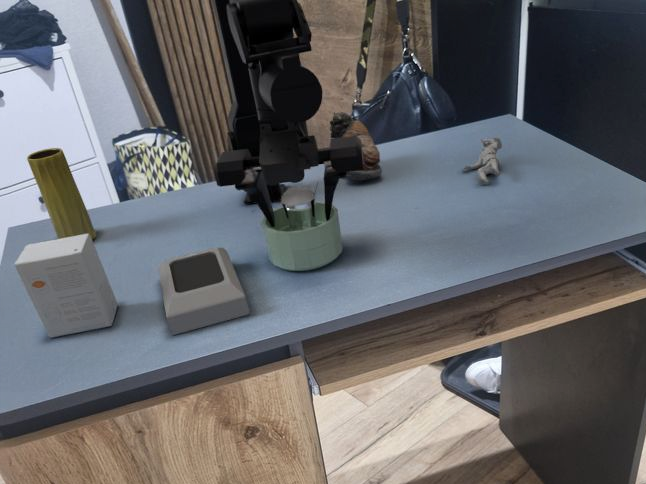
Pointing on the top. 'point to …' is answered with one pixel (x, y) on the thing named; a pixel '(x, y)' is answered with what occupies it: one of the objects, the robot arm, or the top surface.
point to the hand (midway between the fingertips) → (300, 222)
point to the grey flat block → (201, 290)
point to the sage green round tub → (303, 241)
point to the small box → (67, 285)
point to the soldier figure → (487, 160)
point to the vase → (60, 193)
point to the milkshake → (299, 208)
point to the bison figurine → (371, 157)
